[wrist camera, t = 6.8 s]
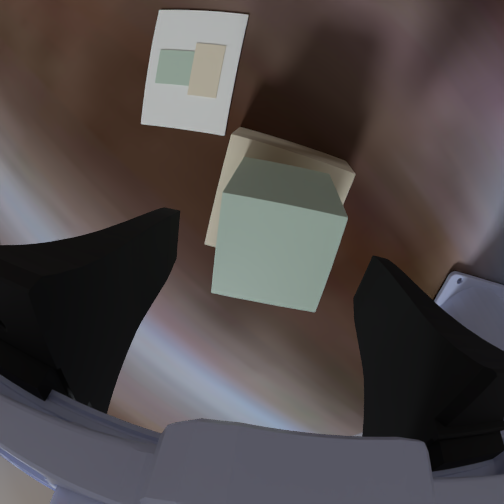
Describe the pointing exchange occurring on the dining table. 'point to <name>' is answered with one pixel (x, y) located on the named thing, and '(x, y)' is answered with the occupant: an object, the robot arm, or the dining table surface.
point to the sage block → (277, 234)
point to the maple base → (279, 152)
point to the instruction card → (193, 69)
